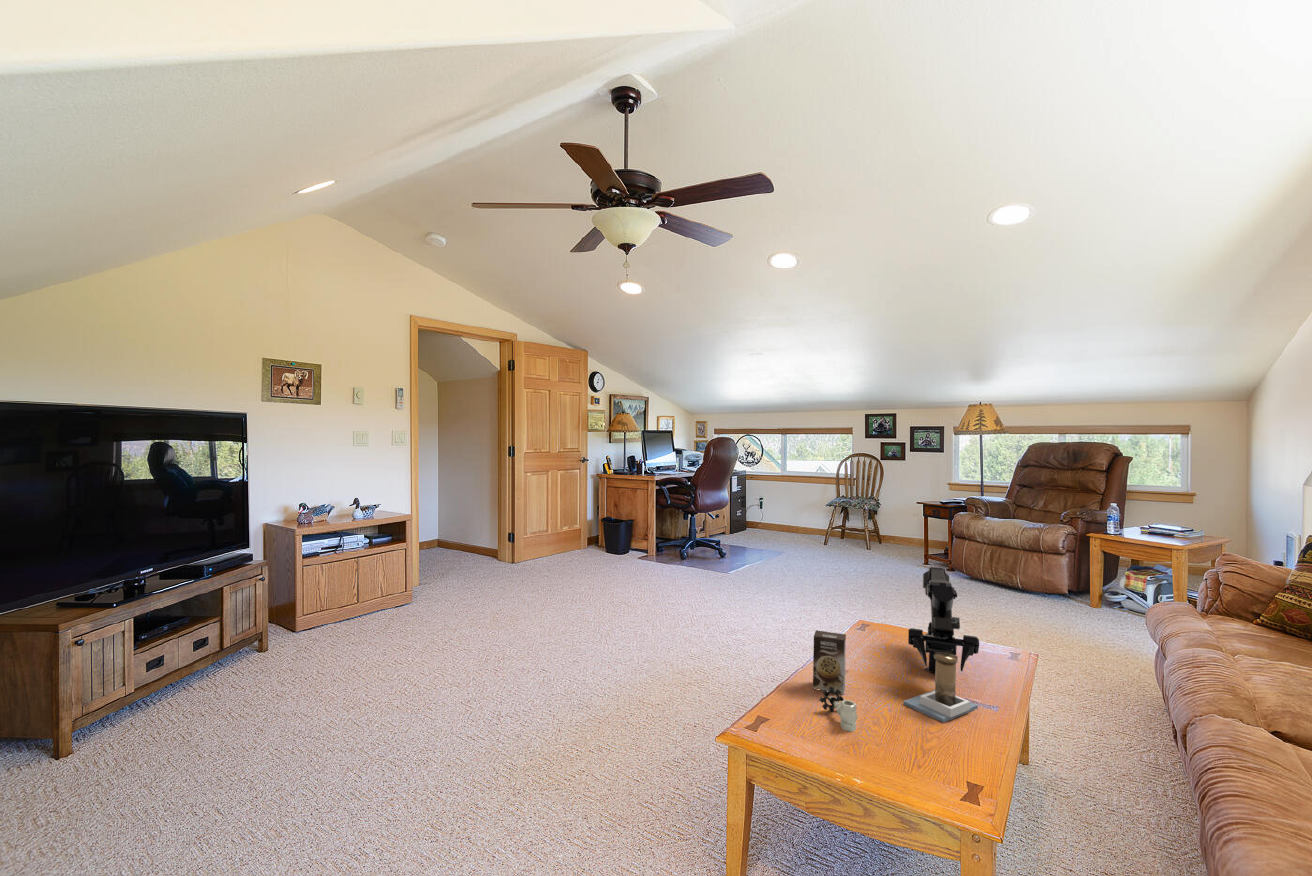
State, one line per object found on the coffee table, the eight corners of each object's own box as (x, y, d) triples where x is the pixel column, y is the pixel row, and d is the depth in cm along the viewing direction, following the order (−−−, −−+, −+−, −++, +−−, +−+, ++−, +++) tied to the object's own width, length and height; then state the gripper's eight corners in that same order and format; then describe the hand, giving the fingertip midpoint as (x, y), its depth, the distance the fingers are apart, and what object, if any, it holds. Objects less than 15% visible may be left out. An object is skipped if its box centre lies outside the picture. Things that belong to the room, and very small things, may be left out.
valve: (864, 731, 145) (841, 709, 157) (864, 705, 145) (842, 685, 157) (840, 733, 144) (819, 711, 156) (840, 707, 144) (819, 687, 156)
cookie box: (812, 690, 169) (812, 635, 169) (814, 681, 175) (815, 629, 175) (844, 695, 166) (844, 640, 166) (845, 686, 172) (846, 633, 172)
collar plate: (937, 692, 168) (937, 681, 168) (979, 709, 157) (979, 697, 157) (903, 704, 160) (903, 693, 160) (945, 723, 149) (945, 711, 149)
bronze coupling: (934, 699, 161) (935, 650, 161) (957, 705, 158) (958, 654, 158) (931, 707, 156) (932, 656, 156) (955, 713, 153) (956, 661, 153)
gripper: (908, 601, 172) (908, 649, 162) (978, 609, 165) (983, 660, 155) (908, 620, 180) (908, 667, 169) (975, 628, 172) (979, 678, 162)
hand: (943, 668), depth 164 cm, fingers open, 9 cm apart
